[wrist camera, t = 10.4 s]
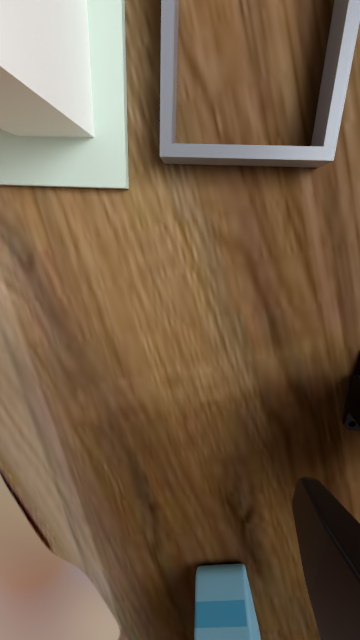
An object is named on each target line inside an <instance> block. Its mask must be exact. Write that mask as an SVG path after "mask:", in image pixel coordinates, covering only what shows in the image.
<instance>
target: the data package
mask: <svg viewBox="0 0 360 640" xmlns="http://www.w3.org/2000/svg"><path fill="white" fill-rule="evenodd" d="M194 640H261V638H260V632H259V626H258V622H257V617H256V613H255V608H254V604H253V599H252V595H251V590H250V586H249V581H248V577H247V573H246V568H245V565H244V564H242V563H240V564H223V565H207V566H199V567H198V568H197V571H196V585H195V630H194Z"/></svg>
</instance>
